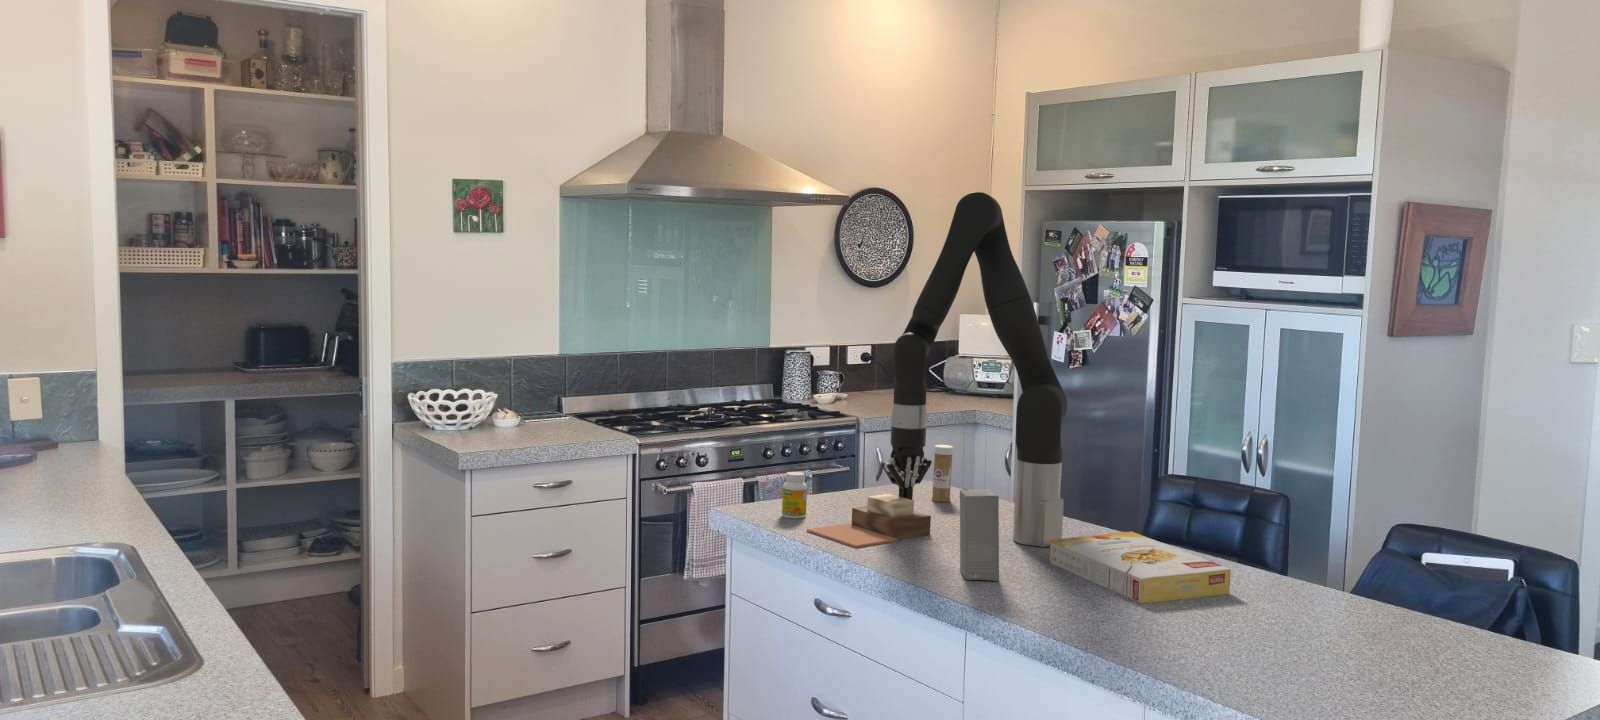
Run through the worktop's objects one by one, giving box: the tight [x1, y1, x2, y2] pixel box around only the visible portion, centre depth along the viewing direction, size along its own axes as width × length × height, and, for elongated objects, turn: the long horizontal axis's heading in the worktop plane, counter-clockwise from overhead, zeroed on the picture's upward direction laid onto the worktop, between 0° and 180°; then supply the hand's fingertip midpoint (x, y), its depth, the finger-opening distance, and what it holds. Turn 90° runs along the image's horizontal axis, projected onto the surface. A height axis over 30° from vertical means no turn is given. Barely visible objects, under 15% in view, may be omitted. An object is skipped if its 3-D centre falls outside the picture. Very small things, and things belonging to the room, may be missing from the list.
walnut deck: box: [851, 505, 932, 540], centre depth 253 cm, size 14×10×4 cm
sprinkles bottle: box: [931, 444, 954, 503], centre depth 285 cm, size 5×5×14 cm
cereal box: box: [1049, 531, 1232, 604], centre depth 221 cm, size 20×6×28 cm
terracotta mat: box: [806, 522, 897, 549], centre depth 246 cm, size 16×11×1 cm
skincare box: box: [959, 488, 1000, 582], centre depth 219 cm, size 8×7×16 cm
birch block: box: [866, 493, 915, 517], centre depth 252 cm, size 8×6×3 cm
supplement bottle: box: [781, 471, 808, 520], centre depth 263 cm, size 5×5×10 cm
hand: (905, 503), depth 255 cm, fingers closed
